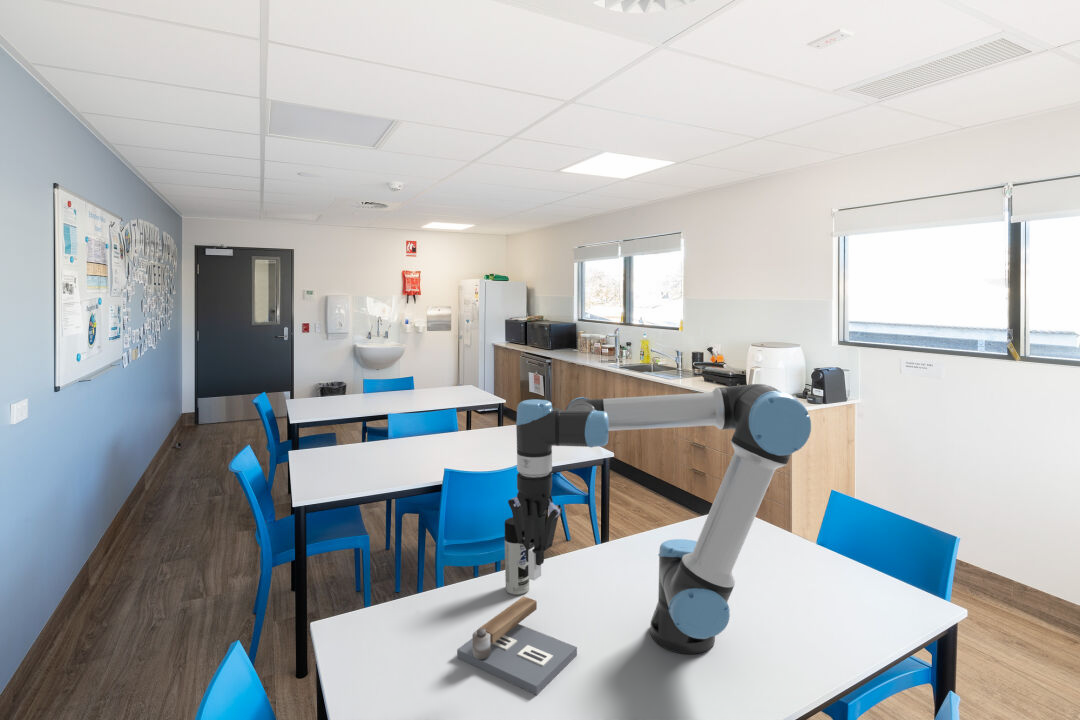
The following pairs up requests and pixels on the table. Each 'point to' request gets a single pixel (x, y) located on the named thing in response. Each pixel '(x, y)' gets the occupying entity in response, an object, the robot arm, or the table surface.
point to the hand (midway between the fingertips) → (534, 577)
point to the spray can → (515, 562)
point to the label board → (523, 658)
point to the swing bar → (501, 626)
